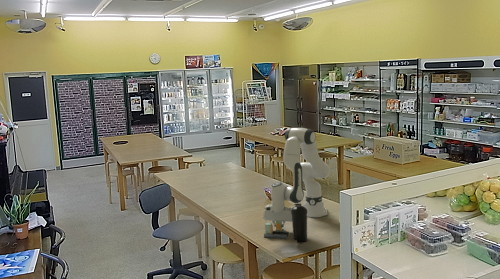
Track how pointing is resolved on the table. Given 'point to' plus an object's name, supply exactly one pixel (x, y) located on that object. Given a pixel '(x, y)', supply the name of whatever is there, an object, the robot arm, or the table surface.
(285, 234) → the rail
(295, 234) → the water bottle
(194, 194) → the table surface
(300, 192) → the robot arm
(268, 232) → the green and orange block
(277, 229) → the pale green block
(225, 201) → the table surface
